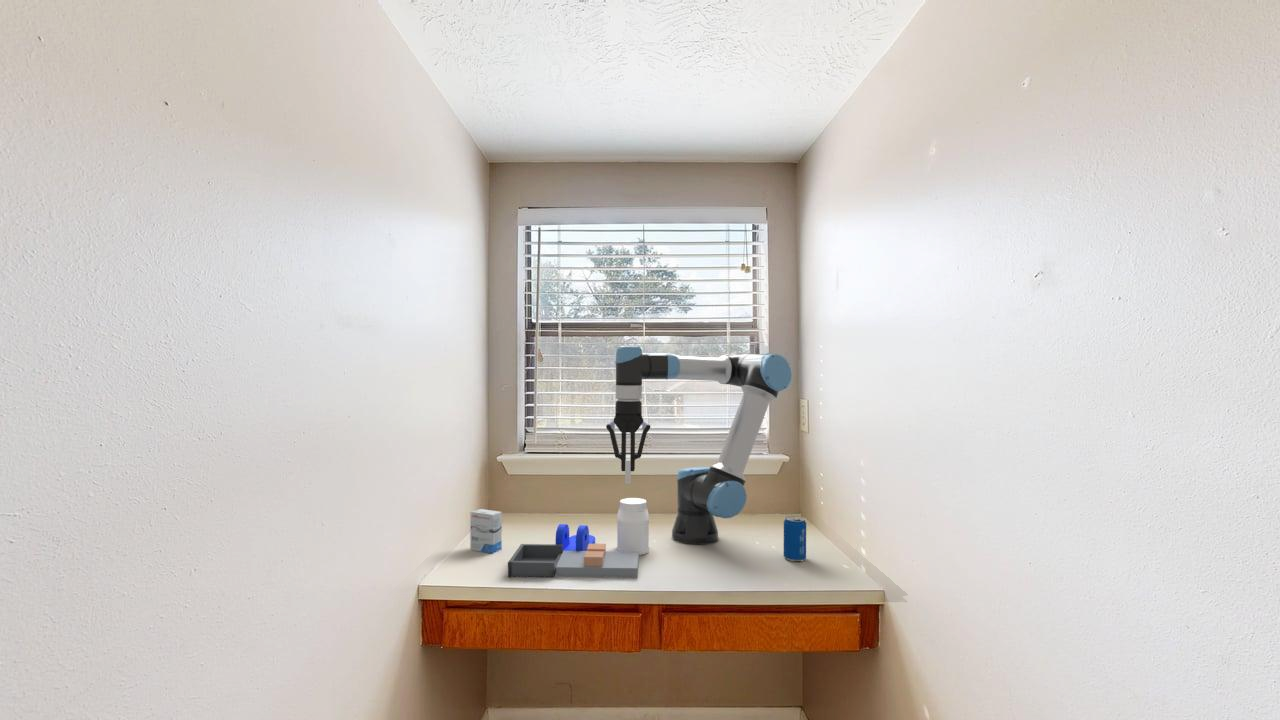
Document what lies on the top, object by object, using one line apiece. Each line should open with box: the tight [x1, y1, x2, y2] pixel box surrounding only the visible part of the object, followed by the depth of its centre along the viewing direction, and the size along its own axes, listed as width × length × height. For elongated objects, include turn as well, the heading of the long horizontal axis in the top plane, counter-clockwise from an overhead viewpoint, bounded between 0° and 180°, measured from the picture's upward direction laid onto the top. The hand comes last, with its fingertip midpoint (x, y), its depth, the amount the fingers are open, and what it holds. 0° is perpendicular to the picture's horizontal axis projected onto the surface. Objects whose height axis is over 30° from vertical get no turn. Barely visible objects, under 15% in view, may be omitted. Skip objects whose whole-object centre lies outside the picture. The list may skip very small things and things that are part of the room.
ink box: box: [469, 508, 503, 554], centre depth 186 cm, size 8×5×12 cm, turn 65°
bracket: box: [555, 523, 596, 551], centre depth 187 cm, size 18×8×9 cm, turn 169°
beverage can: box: [783, 515, 807, 562], centre depth 179 cm, size 6×6×12 cm
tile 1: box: [587, 543, 607, 558], centre depth 174 cm, size 5×5×2 cm
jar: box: [616, 497, 650, 556], centre depth 187 cm, size 12×10×15 cm
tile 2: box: [584, 551, 604, 567], centre depth 167 cm, size 5×5×2 cm
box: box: [507, 543, 563, 579], centre depth 170 cm, size 12×16×4 cm
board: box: [555, 550, 640, 578], centre depth 170 cm, size 22×14×2 cm, turn 89°
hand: (627, 482), depth 173 cm, fingers closed
